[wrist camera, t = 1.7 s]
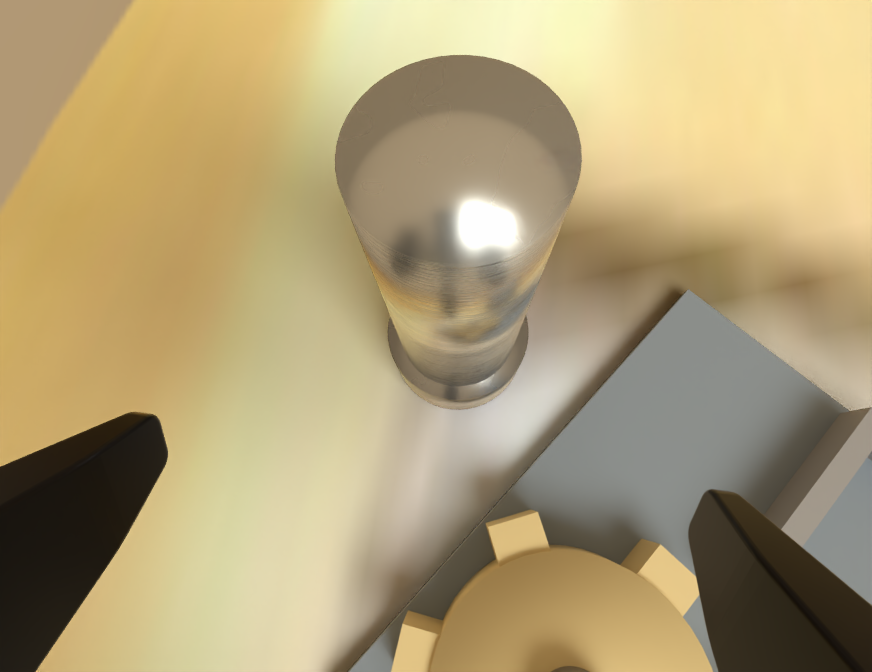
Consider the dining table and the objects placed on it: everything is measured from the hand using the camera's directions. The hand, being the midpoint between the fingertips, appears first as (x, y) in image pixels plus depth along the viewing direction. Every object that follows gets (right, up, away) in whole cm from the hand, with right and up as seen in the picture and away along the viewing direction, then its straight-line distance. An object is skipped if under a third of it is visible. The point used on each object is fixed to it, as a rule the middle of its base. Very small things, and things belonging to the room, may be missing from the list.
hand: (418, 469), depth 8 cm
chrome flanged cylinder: (+1, +2, +13) cm, 13 cm away
